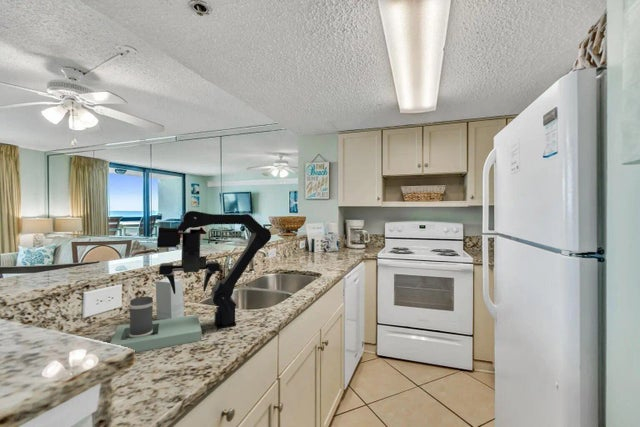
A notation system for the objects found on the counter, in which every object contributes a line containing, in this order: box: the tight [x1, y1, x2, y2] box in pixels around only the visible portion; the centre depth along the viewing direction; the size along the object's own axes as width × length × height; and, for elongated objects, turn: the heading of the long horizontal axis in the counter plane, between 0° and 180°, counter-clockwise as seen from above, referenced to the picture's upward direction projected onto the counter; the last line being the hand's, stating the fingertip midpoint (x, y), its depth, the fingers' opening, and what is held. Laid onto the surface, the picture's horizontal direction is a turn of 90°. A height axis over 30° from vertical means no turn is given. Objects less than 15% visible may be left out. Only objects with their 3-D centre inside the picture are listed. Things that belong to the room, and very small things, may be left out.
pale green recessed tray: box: [110, 314, 203, 353], centre depth 92 cm, size 24×16×3 cm, turn 118°
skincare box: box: [155, 277, 185, 320], centre depth 108 cm, size 8×6×15 cm
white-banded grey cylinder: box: [128, 296, 154, 339], centre depth 89 cm, size 6×6×13 cm
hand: (189, 292), depth 98 cm, fingers open, 9 cm apart
